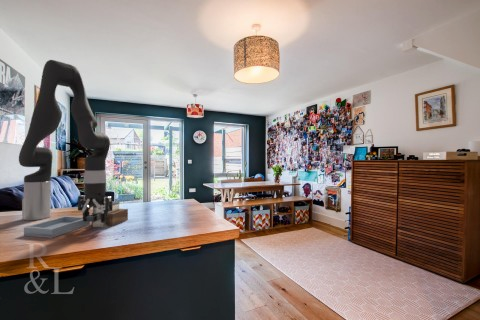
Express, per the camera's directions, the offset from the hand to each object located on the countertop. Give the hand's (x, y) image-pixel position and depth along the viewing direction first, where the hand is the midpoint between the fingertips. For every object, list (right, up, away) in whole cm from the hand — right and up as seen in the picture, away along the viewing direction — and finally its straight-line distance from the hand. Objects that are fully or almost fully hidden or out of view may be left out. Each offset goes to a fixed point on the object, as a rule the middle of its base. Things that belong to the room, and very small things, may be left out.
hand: (95, 221), depth 89 cm
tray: (-13, -2, -2) cm, 13 cm away
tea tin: (+1, -3, +4) cm, 5 cm away
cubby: (+1, -3, +8) cm, 8 cm away
